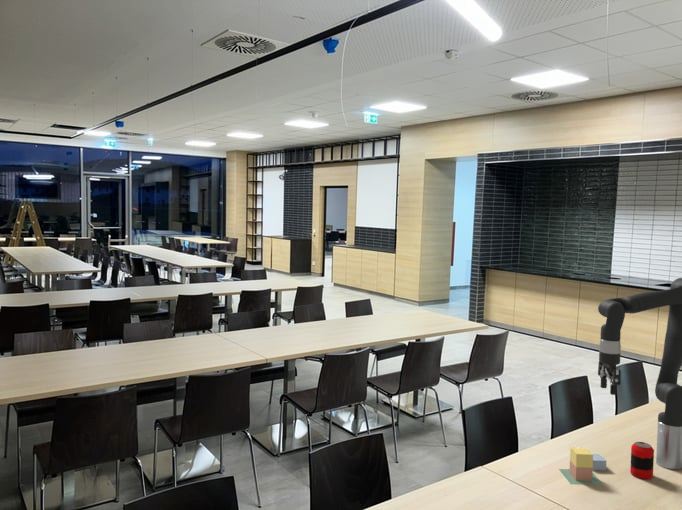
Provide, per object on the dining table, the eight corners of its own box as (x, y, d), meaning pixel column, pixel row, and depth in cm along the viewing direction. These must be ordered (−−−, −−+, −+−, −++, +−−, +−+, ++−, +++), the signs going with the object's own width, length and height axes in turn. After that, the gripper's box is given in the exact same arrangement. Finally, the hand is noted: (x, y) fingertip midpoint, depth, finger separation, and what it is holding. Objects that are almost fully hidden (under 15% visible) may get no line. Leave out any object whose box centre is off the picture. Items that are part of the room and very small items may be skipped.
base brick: (585, 473, 202) (585, 460, 202) (592, 480, 196) (592, 467, 196) (569, 472, 203) (569, 460, 202) (575, 480, 197) (576, 467, 196)
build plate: (590, 472, 205) (590, 469, 205) (603, 487, 193) (604, 485, 193) (558, 471, 206) (558, 468, 206) (570, 486, 194) (570, 484, 194)
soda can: (650, 472, 206) (651, 442, 205) (655, 481, 198) (656, 450, 198) (628, 469, 208) (629, 439, 207) (632, 478, 201) (633, 447, 200)
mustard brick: (586, 460, 202) (586, 447, 202) (592, 467, 196) (593, 454, 196) (570, 460, 202) (570, 447, 202) (576, 467, 196) (576, 454, 196)
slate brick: (598, 466, 211) (598, 453, 211) (606, 473, 205) (606, 460, 205) (583, 465, 211) (583, 453, 211) (590, 473, 205) (591, 460, 205)
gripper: (628, 355, 202) (626, 397, 203) (611, 346, 216) (609, 385, 217) (608, 355, 202) (606, 396, 203) (592, 346, 216) (591, 385, 217)
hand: (608, 391), depth 210 cm, fingers open, 8 cm apart
